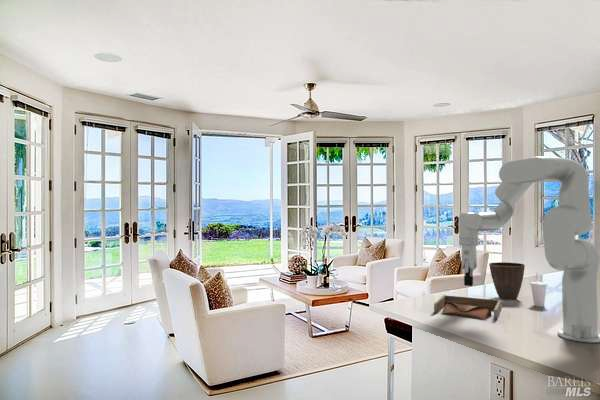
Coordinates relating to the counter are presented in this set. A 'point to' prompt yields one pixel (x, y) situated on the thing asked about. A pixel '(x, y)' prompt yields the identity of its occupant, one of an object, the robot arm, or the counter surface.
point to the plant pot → (507, 279)
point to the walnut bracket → (469, 303)
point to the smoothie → (538, 292)
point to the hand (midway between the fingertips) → (468, 285)
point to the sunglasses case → (466, 311)
